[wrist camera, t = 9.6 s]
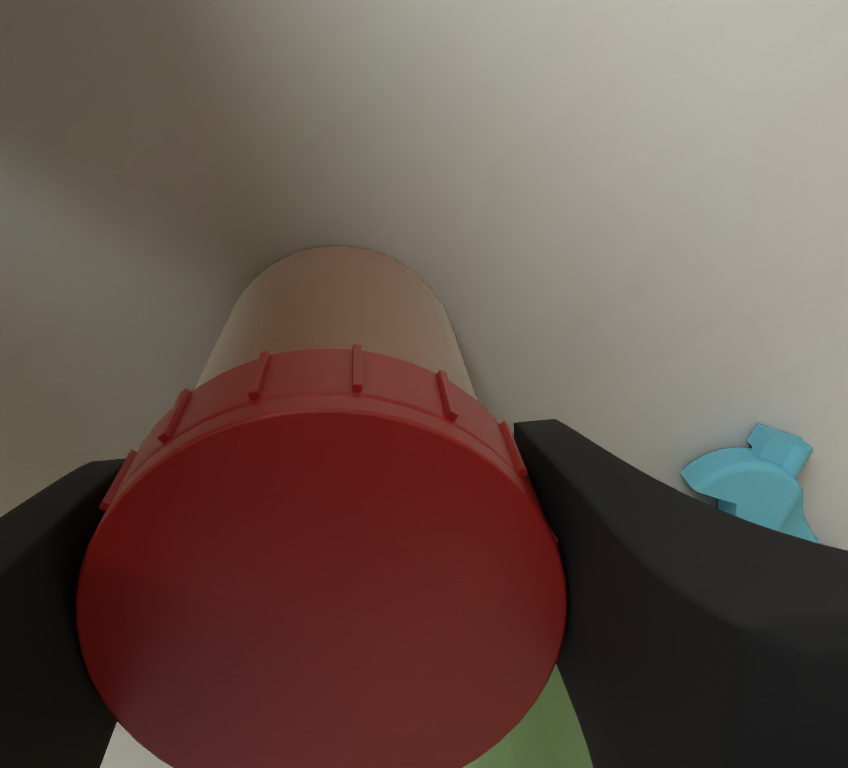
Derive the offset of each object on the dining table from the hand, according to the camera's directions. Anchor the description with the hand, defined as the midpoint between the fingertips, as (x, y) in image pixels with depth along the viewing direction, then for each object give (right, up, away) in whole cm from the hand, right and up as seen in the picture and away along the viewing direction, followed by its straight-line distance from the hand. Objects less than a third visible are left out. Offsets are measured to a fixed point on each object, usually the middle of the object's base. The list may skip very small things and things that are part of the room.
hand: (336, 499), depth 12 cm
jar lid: (0, -1, -2) cm, 2 cm away
